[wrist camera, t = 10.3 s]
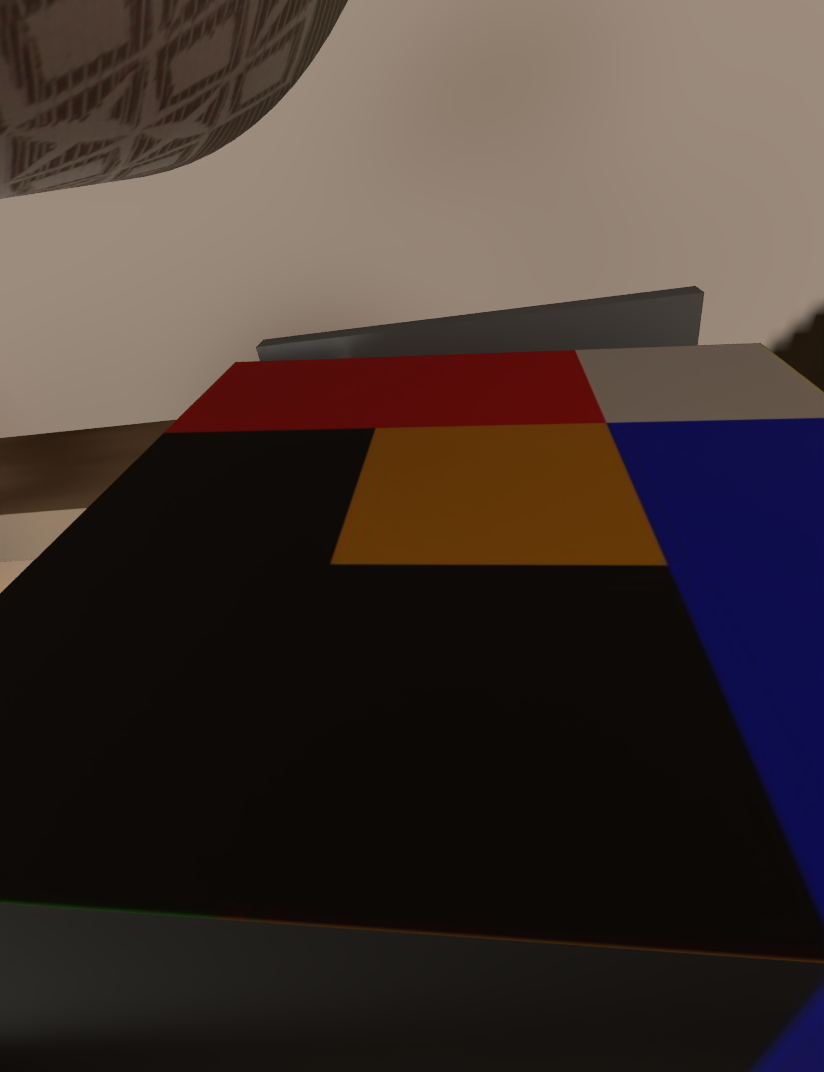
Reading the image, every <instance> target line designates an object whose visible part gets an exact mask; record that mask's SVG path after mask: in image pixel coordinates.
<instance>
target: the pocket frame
mask: <svg viewBox="0 0 824 1072" xmlns="http://www.w3.org/2000/svg"><path fill="white" fill-rule="evenodd" d="M175 421H176V420H170V421H160V422H152V423H142V424H132V425H123V426H113V427H104V428H94V429H84V430H74V431H66V432H55V433H46V434H37V435H27V436H17V437H7V438H0V562H6V561H20V560H35V559H36V558H37V557H38V556H39V555H40V554H41V553H42V552H43V551H44V550H45V549H46V548H47V547H48V546H49V545H50V544H51V543H52V542H53V541H54V540H55V539H56V538H57V537H58V536H59V535H60V534H61V533H62V532H63V531H64V530H65V529H66V528H67V527H68V526H69V525H70V524H71V523H72V522H74V521H75V520H76V519H77V518H78V517H79V516H80V515H81V514H82V513H83V512H84V511H85V510H86V509H87V508H88V507H89V506H90V505H91V504H92V503H93V502H94V501H95V500H96V499H97V498H98V497H99V496H100V495H101V494H102V493H103V492H104V491H105V490H106V489H107V488H108V487H109V486H110V485H111V484H112V483H113V482H114V481H115V480H116V479H117V478H118V477H119V476H120V475H121V474H122V473H123V472H124V471H125V470H126V469H127V468H128V467H129V466H130V465H131V464H132V463H133V462H134V461H135V460H137V459H138V458H139V457H140V456H141V455H142V454H143V453H144V452H145V451H146V450H147V449H148V448H149V447H150V446H151V445H152V444H153V443H154V442H155V441H156V440H157V439H158V438H159V437H160V436H161V435H162V434H163V433H164V432H165V431H166V430H167V429H168V428H169V427H170V426H171V425H172V424H173V423H174V422H175Z"/></svg>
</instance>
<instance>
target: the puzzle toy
mask: <svg viewBox="0 0 824 1072" xmlns="http://www.w3.org/2000/svg"><path fill="white" fill-rule="evenodd" d="M0 1072H824V392H823V391H822V390H821V389H819V388H818V387H817V386H815V385H814V384H813V383H812V382H810V381H809V380H808V379H806V378H805V377H804V376H803V375H801V374H800V373H799V372H797V371H796V370H795V369H793V368H792V367H791V366H790V365H788V364H787V363H786V362H784V361H783V360H782V359H780V358H779V357H778V356H777V355H775V354H774V353H773V352H771V351H770V350H769V349H768V348H766V347H765V346H764V345H762V344H761V343H753V344H725V345H698V346H670V347H642V348H615V349H587V350H560V351H532V352H504V353H477V354H449V355H422V356H394V357H367V358H339V359H311V360H284V361H257V362H235V363H234V364H233V365H232V366H231V367H230V368H229V369H228V370H227V371H226V372H225V373H224V374H223V375H222V376H221V377H220V378H219V379H218V380H217V381H216V382H215V383H214V384H213V385H212V386H211V387H210V388H209V389H208V390H207V391H206V392H205V393H204V394H203V395H202V396H201V397H200V398H199V399H198V400H197V401H196V402H194V403H193V405H191V406H190V407H189V408H188V409H187V410H186V411H185V412H184V413H183V414H182V415H181V416H180V417H179V418H178V419H177V420H176V421H175V422H174V423H173V424H172V425H171V426H170V427H169V428H168V429H167V430H166V431H165V432H164V433H163V434H162V435H161V436H160V437H159V438H158V439H157V440H156V441H155V442H154V443H153V444H152V445H151V446H150V447H149V448H148V449H147V450H146V451H145V452H144V453H143V454H142V455H141V456H140V457H139V458H138V459H137V460H135V461H134V462H133V463H132V464H131V465H130V466H129V467H128V468H127V469H126V470H125V471H124V472H123V473H122V474H121V475H120V476H119V477H118V478H117V479H116V480H115V481H114V482H113V483H112V484H111V485H110V486H109V487H108V488H107V489H106V490H105V491H104V492H103V493H102V494H101V495H100V496H99V497H98V498H97V499H96V500H95V501H94V502H93V503H92V504H91V505H90V506H89V507H88V508H87V509H86V510H85V511H84V512H83V513H82V514H81V515H80V516H79V517H78V518H77V519H76V520H75V521H74V522H72V523H71V524H70V525H69V526H68V527H67V528H66V529H65V530H64V531H63V532H62V533H61V534H60V535H59V536H58V537H57V538H56V539H55V540H54V541H53V542H52V543H51V544H50V545H49V546H48V547H47V548H46V549H45V550H44V551H43V552H42V553H41V554H40V555H39V556H38V557H37V558H36V559H35V560H34V561H33V562H32V563H31V564H30V565H29V566H28V567H27V568H26V569H25V570H24V571H23V572H22V573H21V574H20V575H19V576H18V577H17V578H16V579H15V580H14V581H13V582H12V583H11V584H9V585H8V587H7V588H5V589H4V590H3V591H2V592H1V593H0Z"/></svg>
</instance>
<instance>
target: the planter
mask: <svg viewBox="0 0 824 1072" xmlns="http://www.w3.org/2000/svg"><path fill="white" fill-rule="evenodd" d="M347 1H348V0H0V199H1V198H8V197H15V196H21V195H28V194H34V193H41V192H47V191H54V190H60V189H67V188H73V187H80V186H86V185H93V184H100V183H106V182H112V181H119V180H126V179H132V178H138V177H145V176H149V175H153V174H158V173H162V172H166V171H170V170H173V169H175V168H178V167H181V166H184V165H187V164H190V163H192V162H194V161H196V160H198V159H201V158H203V157H204V156H207V155H209V154H211V153H213V152H215V151H217V150H218V149H220V148H222V147H223V146H225V145H226V144H228V143H230V142H231V141H233V140H235V139H236V138H237V137H239V136H240V135H241V134H243V133H244V132H245V131H246V130H248V129H249V128H250V127H252V126H253V125H255V124H256V123H257V122H258V121H259V120H260V119H261V118H262V117H263V116H264V115H266V114H267V113H268V112H269V111H270V110H271V109H272V108H273V107H274V106H275V105H276V104H277V103H278V102H279V101H280V100H281V99H282V98H283V96H284V95H285V94H286V93H287V92H288V91H289V90H290V89H291V88H292V87H293V85H294V84H295V83H296V82H297V80H298V79H299V78H300V76H301V75H302V74H303V72H304V71H305V70H306V69H307V67H308V66H309V65H310V63H311V62H312V61H313V59H314V58H315V56H316V54H317V53H318V51H319V50H320V48H321V47H322V45H323V43H324V42H325V40H326V39H327V37H328V36H329V34H330V33H331V31H332V29H333V27H334V25H335V23H336V22H337V20H338V18H339V16H340V14H341V12H342V10H343V9H344V7H345V5H346V3H347Z"/></svg>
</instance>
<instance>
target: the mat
mask: <svg viewBox="0 0 824 1072" xmlns="http://www.w3.org/2000/svg"><path fill="white" fill-rule="evenodd" d="M703 296H704V292H703V291H701V290H700V289H699V288H697V287H696V286H692V287H684V288H676V289H668V290H660V291H652V292H644V293H636V294H628V295H620V296H612V297H603V298H596V299H588V300H580V301H571V302H564V303H555V304H547V305H539V306H531V307H523V308H515V309H508V310H499V311H491V312H483V313H475V314H467V315H459V316H451V317H443V318H436V319H427V320H419V321H410V322H402V323H395V324H387V325H378V326H370V327H363V328H354V329H346V330H338V331H330V332H323V333H314V334H306V335H298V336H290V337H283V338H275V339H266V340H263V341H262V342H261V343H260V344H259V345H258V346H257V347H256V348H257V352H258V355H259V359H260V361H284V360H311V359H339V358H367V357H394V356H422V355H449V354H477V353H504V352H532V351H560V350H587V349H615V348H642V347H670V346H697V344H698V336H699V329H700V321H701V313H702V305H703Z"/></svg>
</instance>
